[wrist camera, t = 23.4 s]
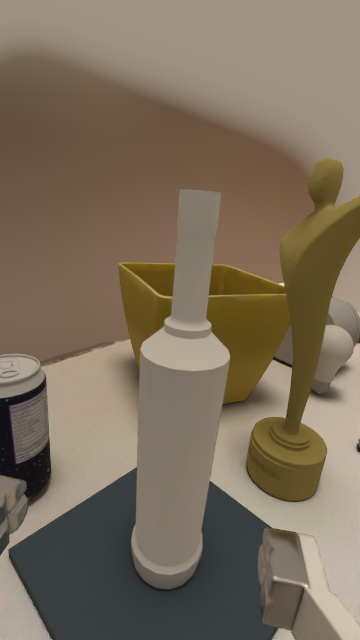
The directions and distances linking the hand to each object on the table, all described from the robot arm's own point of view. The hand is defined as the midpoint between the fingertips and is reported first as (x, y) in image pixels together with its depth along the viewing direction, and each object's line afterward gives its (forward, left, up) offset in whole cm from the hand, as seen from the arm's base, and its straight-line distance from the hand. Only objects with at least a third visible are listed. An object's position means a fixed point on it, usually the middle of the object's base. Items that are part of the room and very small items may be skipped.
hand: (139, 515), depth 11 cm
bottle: (+8, +5, -14) cm, 17 cm away
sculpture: (+23, +3, -15) cm, 27 cm away
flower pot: (+29, +21, -15) cm, 39 cm away
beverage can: (+3, +19, -15) cm, 25 cm away
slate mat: (+8, +5, -15) cm, 18 cm away
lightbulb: (+43, +7, -15) cm, 46 cm away
